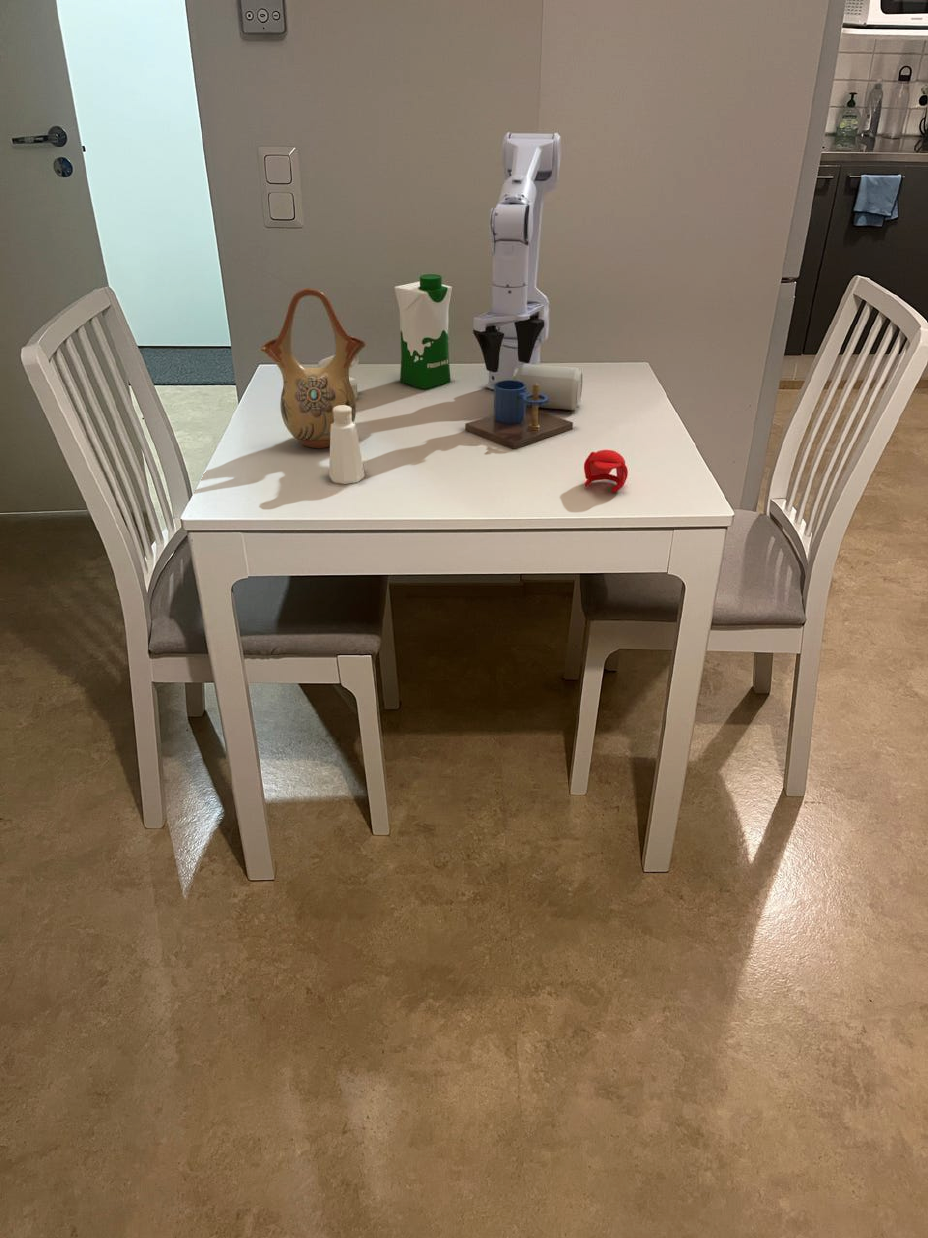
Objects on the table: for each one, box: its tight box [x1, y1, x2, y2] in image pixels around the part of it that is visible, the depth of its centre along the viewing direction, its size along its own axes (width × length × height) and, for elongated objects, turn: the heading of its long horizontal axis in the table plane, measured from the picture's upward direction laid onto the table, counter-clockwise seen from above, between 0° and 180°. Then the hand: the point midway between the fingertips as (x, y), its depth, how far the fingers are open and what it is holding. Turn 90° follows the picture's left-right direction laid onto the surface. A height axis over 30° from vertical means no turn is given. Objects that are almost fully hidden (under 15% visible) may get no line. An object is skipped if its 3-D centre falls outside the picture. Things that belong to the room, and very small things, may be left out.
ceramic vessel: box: [259, 287, 367, 449], centre depth 151 cm, size 16×9×25 cm, turn 99°
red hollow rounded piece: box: [583, 449, 629, 493], centre depth 141 cm, size 8×6×6 cm
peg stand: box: [464, 383, 574, 450], centre depth 161 cm, size 12×14×9 cm
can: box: [512, 364, 583, 411], centre depth 171 cm, size 8×8×12 cm
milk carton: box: [394, 273, 453, 390], centre depth 180 cm, size 9×9×20 cm
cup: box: [493, 380, 548, 424], centre depth 161 cm, size 11×5×6 cm, turn 42°
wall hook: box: [316, 353, 360, 400], centre depth 176 cm, size 9×10×10 cm
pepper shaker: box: [328, 405, 366, 485], centre depth 143 cm, size 5×5×11 cm
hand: (508, 366), depth 163 cm, fingers open, 7 cm apart
